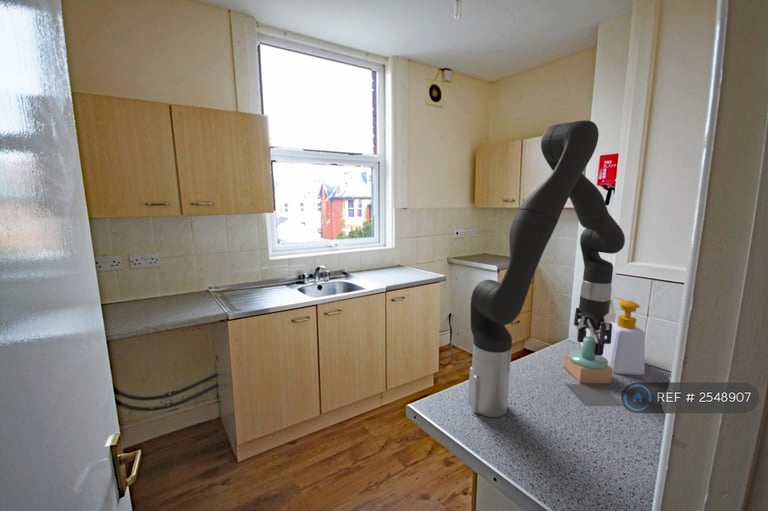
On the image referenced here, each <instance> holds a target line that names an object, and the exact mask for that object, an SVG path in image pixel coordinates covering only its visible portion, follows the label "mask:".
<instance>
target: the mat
mask: <svg viewBox="0 0 768 511" xmlns="http://www.w3.org/2000/svg"><path fill="white" fill-rule="evenodd" d="M564 385H565V386H566V387H567V388H568V389H569V390H570V391H571V392H572V394H573V395H574V396H575V397H576V398H577V399H578V400H579V401H580V402H581V403H582V404H583V405H584V406H595V407H596V406H599V407H600V406H601V407H602V406H612V407H613V406H615V407H617V406H620V407H621V406H624V404H622V402H620V400H618V399H617V398H616V397H615V396H614V395H613V394H611V393H610V392H609V391H608V390H607V389H606V388H605V387H604V386H603V385H601V383H564Z"/></svg>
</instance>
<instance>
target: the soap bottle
mask: <svg viewBox="0 0 768 511" xmlns="http://www.w3.org/2000/svg"><path fill="white" fill-rule="evenodd" d="M612 298H613V299H617V300H619V302H618V305H619V306H620V310H622V311H624V314H620V315H618V316H617V322H615V323H614V322H610V323H612V335H611V344H604V350H603V354H602V355H601V356H603V357H604V358H606V359H607V361H608V365H609V366H610V367H611V368H613V369H612V374H619V375H633V376H634V375H636V376H643V375H644V374H645V359H646V358H645V354H646V352H645V351H646V334H645V333H646V332H645V331H644V330H643V329H641V328H640V327H638V326H637V325H636V323H637V318H636V317H634V316H631V315H632V313H635V312H636V311H637V309H639V308H640V307H641V306H640V305H639V304H638V303H637V302H635V301H632V300H625V299H622V298H620V297H618V296H612ZM605 338H606V339H607V336H605Z"/></svg>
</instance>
